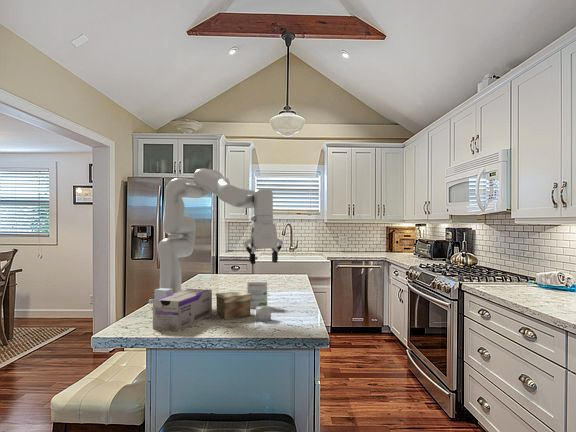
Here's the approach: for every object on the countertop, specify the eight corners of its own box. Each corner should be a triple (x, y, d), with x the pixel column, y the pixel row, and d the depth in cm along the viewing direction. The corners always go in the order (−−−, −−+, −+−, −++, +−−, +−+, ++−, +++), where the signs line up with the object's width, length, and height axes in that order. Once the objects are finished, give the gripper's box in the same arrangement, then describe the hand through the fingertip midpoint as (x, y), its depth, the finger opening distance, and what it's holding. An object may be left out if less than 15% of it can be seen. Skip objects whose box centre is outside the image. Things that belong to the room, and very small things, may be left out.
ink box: (267, 306, 177) (267, 280, 177) (265, 308, 172) (265, 282, 172) (249, 306, 178) (249, 280, 178) (247, 308, 173) (247, 282, 173)
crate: (225, 319, 152) (225, 299, 152) (216, 314, 161) (216, 295, 161) (250, 316, 158) (250, 296, 158) (240, 311, 166) (240, 293, 166)
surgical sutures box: (178, 331, 136) (178, 301, 136) (152, 329, 139) (153, 299, 139) (211, 315, 160) (211, 289, 160) (189, 314, 163) (189, 288, 163)
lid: (225, 302, 151) (224, 296, 151) (215, 299, 161) (215, 293, 161) (252, 300, 157) (252, 294, 157) (241, 296, 166) (241, 291, 167)
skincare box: (173, 318, 154) (173, 288, 154) (166, 321, 150) (166, 290, 150) (160, 317, 156) (160, 287, 156) (153, 319, 152) (153, 289, 152)
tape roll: (259, 322, 148) (259, 309, 148) (253, 319, 153) (253, 306, 153) (273, 320, 150) (273, 307, 151) (266, 317, 156) (266, 304, 156)
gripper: (247, 219, 145) (247, 265, 144) (287, 219, 154) (287, 262, 153) (239, 220, 151) (240, 263, 151) (278, 220, 160) (278, 261, 160)
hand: (263, 263), depth 152 cm, fingers open, 9 cm apart
